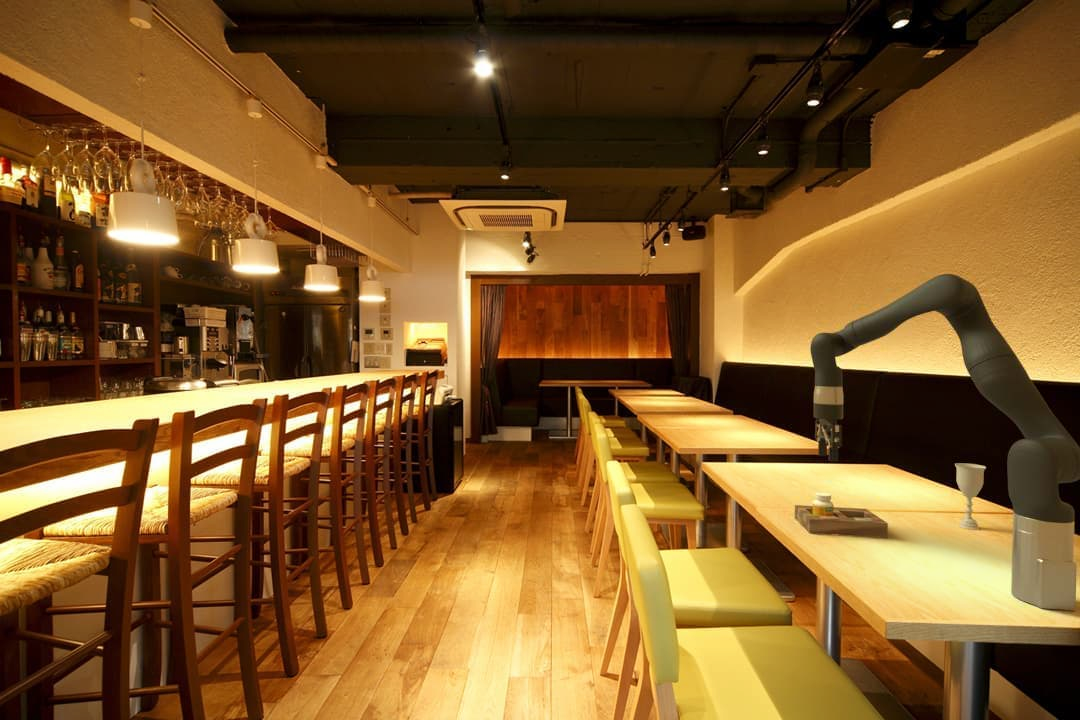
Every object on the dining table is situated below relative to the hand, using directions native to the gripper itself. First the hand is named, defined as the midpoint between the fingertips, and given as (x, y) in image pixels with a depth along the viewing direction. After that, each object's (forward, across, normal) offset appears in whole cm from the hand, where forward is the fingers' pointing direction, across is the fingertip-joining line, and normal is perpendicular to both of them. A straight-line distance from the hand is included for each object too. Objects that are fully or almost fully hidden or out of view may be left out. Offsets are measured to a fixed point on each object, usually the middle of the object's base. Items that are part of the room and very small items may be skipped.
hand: (827, 458), depth 156 cm
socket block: (+20, +1, -3) cm, 20 cm away
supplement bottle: (+20, +1, +1) cm, 20 cm away
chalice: (+20, +9, -42) cm, 47 cm away
